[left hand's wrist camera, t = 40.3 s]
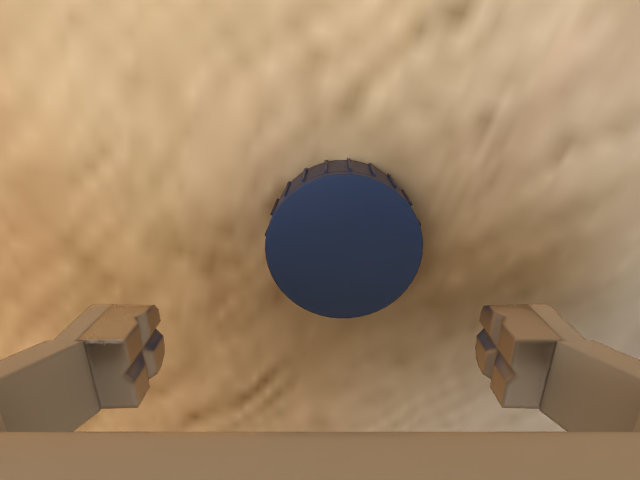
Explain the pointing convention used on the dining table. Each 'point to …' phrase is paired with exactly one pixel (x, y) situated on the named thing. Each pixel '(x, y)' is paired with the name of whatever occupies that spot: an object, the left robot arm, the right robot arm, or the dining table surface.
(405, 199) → the lid
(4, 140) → the dining table surface
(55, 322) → the dining table surface
